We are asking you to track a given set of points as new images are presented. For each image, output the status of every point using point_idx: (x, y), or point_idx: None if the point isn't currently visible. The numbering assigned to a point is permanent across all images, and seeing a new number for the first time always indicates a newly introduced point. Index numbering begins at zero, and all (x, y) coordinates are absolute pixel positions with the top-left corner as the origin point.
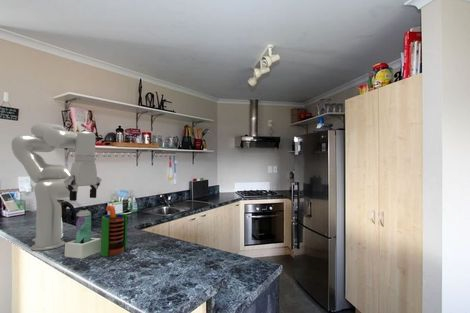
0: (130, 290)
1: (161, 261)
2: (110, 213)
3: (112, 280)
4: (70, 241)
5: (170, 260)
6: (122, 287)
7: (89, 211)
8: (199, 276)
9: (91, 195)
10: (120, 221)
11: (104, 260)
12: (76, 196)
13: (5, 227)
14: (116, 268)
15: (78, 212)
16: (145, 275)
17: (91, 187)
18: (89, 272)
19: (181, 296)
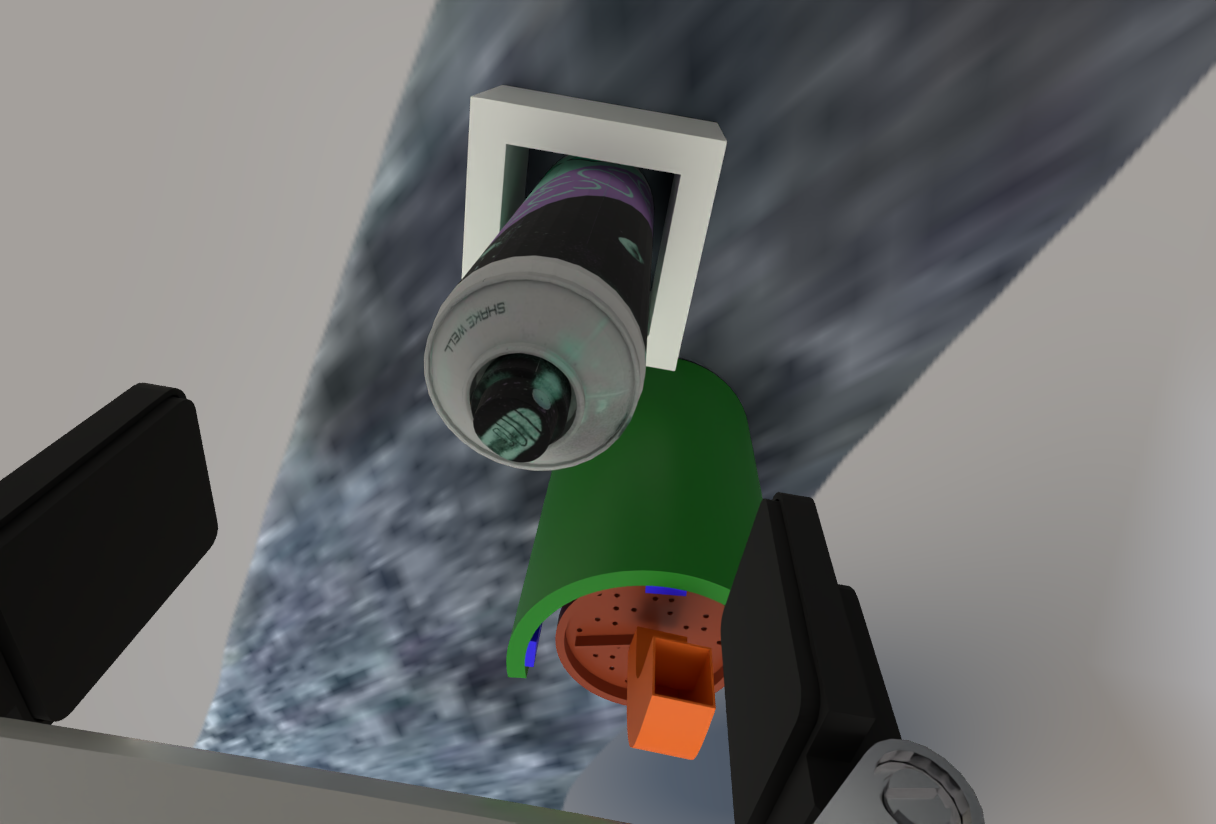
0: (252, 717)
1: (545, 727)
2: (633, 667)
3: (291, 631)
4: (536, 110)
5: (566, 754)
6: (258, 687)
7: (573, 452)
8: None
9: (757, 581)
10: (621, 690)
11: (496, 465)
12: (148, 610)
13: None
14: (408, 586)
15: (450, 341)
16: (380, 718)
17: (828, 810)
18: (319, 492)
19: None
